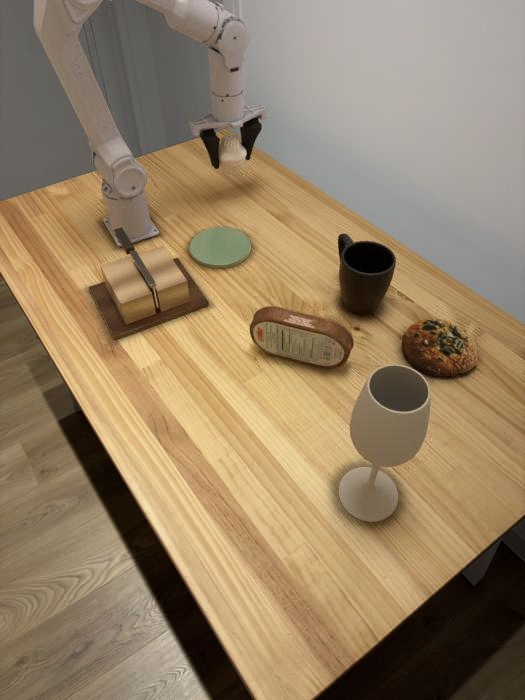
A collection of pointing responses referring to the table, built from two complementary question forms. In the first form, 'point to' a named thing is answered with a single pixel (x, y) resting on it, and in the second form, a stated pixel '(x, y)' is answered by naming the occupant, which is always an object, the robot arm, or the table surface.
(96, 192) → the table surface
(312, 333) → the tin
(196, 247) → the plate
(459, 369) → the bread roll
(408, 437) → the wineglass
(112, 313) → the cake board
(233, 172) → the muffin
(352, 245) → the mug
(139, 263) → the knife
